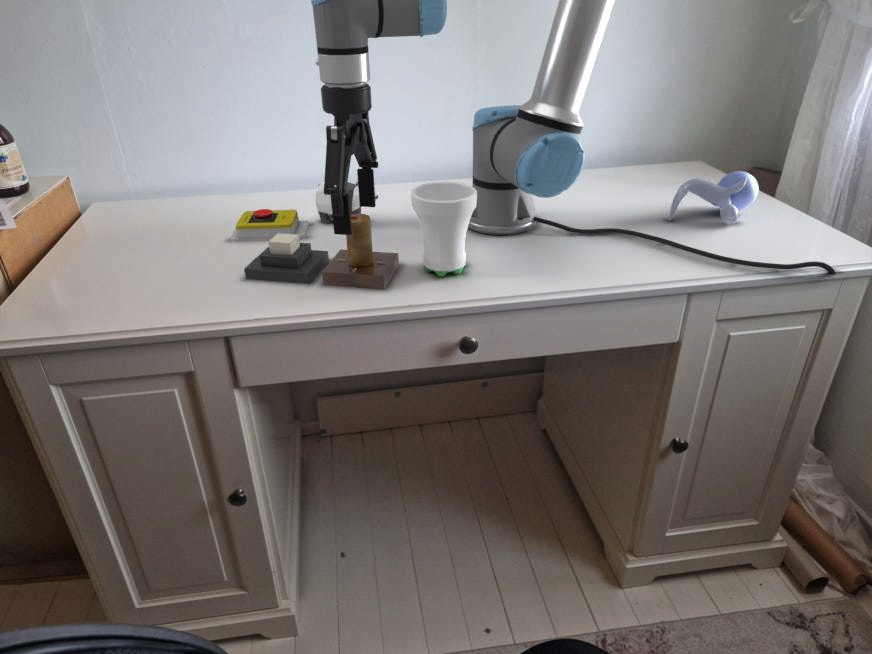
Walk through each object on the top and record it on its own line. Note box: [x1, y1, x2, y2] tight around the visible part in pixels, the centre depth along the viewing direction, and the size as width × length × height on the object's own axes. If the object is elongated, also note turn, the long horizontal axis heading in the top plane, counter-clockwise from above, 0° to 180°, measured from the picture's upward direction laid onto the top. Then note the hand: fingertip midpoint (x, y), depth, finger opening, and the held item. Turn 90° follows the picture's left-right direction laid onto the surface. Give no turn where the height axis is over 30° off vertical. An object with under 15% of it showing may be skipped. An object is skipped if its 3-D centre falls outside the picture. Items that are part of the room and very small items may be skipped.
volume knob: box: [345, 213, 374, 267], centre depth 108 cm, size 4×4×8 cm
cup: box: [410, 181, 477, 278], centre depth 109 cm, size 11×11×14 cm
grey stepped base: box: [243, 242, 330, 285], centre depth 113 cm, size 12×10×4 cm
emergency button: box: [229, 208, 311, 243], centre depth 129 cm, size 9×4×15 cm
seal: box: [667, 170, 759, 224], centre depth 131 cm, size 8×12×20 cm
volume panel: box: [321, 249, 400, 290], centre depth 111 cm, size 11×10×3 cm
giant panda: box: [315, 181, 379, 224], centre depth 131 cm, size 15×6×10 cm, turn 62°
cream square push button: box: [268, 233, 301, 255], centre depth 112 cm, size 4×4×3 cm
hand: (356, 219), depth 106 cm, fingers open, 13 cm apart
